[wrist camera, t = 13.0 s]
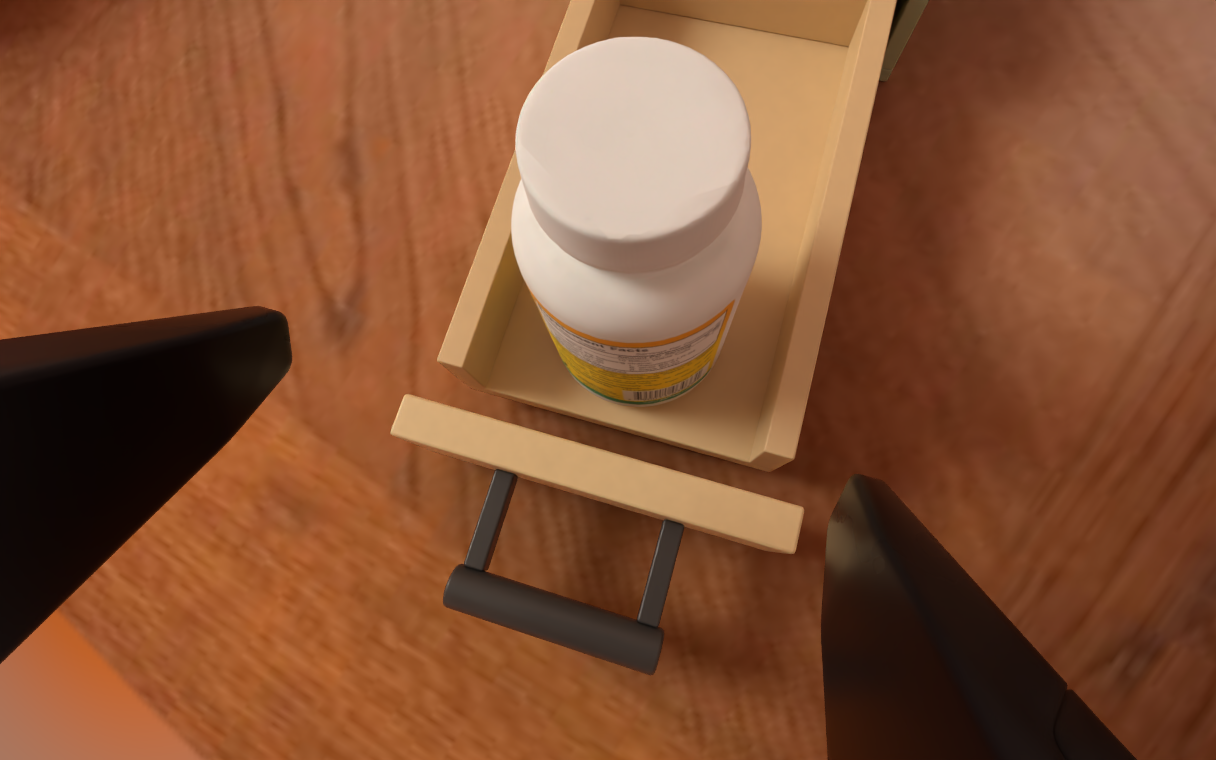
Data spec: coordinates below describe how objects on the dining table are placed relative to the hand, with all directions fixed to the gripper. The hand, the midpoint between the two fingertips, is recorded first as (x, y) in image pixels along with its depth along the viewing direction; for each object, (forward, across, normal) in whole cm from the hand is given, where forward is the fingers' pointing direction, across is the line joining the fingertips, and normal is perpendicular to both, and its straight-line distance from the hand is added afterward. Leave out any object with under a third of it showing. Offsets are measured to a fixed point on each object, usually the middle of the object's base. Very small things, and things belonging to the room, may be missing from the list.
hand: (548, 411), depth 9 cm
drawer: (+12, 0, +3) cm, 12 cm away
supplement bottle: (+10, 0, +3) cm, 11 cm away
